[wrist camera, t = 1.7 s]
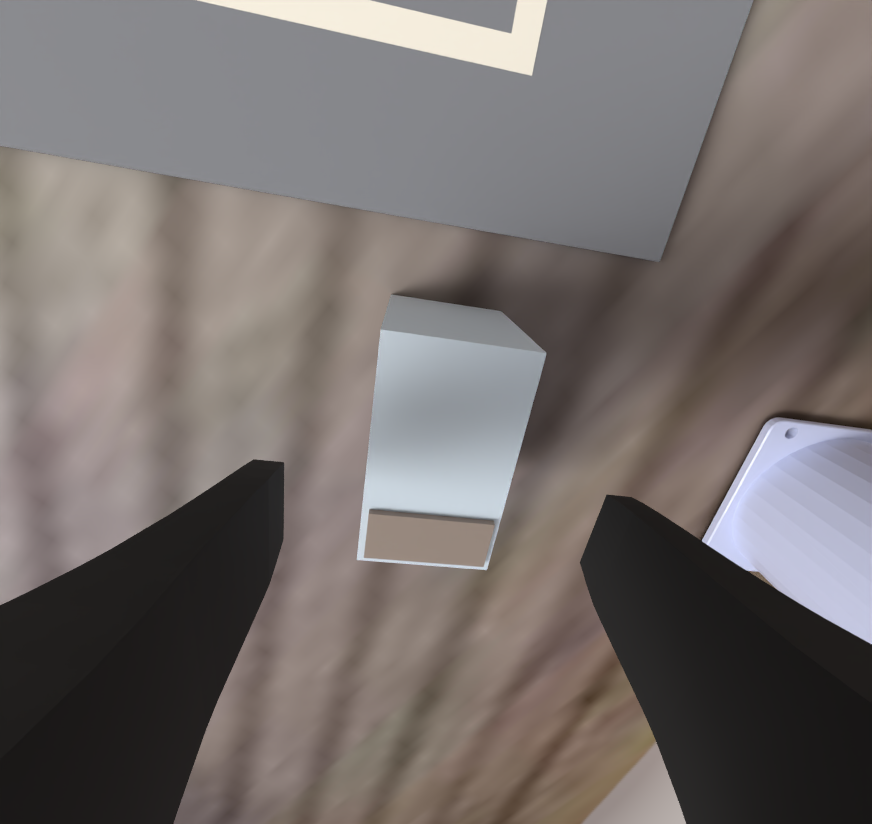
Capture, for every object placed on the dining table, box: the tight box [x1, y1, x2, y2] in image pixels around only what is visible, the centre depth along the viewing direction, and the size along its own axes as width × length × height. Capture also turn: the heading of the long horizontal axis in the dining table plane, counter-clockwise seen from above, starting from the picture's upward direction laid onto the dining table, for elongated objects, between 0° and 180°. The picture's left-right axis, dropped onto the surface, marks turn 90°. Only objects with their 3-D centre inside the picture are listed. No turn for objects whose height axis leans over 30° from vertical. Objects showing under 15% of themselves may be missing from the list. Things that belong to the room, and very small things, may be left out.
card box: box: [357, 294, 547, 570], centre depth 13 cm, size 4×7×6 cm, turn 171°
